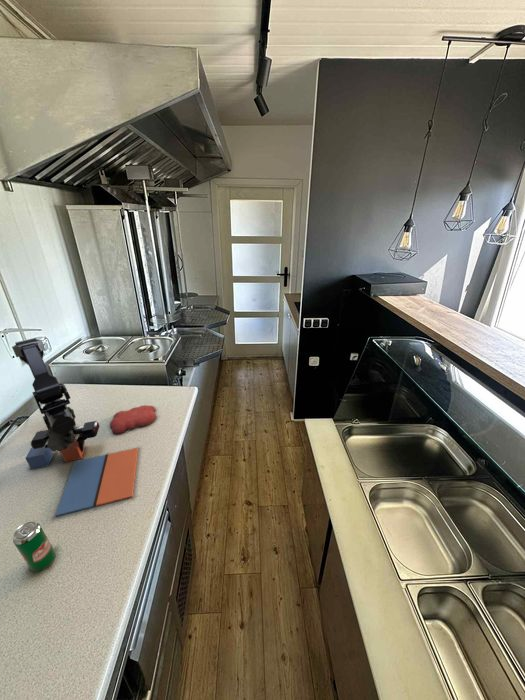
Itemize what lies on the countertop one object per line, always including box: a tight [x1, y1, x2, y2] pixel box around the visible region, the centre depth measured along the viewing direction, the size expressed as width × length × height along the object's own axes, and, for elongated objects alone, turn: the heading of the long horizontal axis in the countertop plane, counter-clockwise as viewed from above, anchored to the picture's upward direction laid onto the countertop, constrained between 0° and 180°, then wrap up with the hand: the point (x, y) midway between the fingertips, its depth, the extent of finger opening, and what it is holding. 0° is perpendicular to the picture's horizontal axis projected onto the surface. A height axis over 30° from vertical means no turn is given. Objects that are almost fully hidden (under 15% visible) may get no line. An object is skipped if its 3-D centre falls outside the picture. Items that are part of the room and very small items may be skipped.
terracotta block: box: [60, 438, 86, 463], centre depth 99 cm, size 5×5×5 cm
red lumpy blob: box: [109, 405, 157, 435], centre depth 116 cm, size 18×14×2 cm
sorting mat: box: [54, 447, 139, 517], centre depth 91 cm, size 20×20×1 cm
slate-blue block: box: [25, 446, 54, 470], centre depth 96 cm, size 5×5×5 cm
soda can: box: [12, 520, 56, 572], centre depth 67 cm, size 5×5×12 cm
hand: (74, 452), depth 100 cm, fingers closed on terracotta block, 5 cm apart
